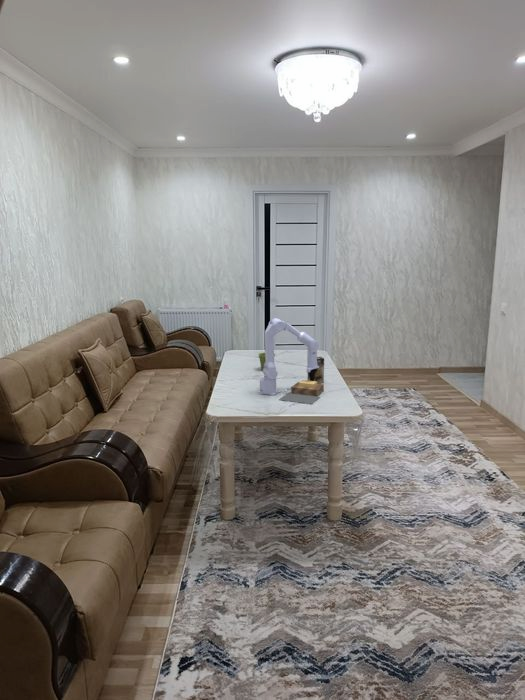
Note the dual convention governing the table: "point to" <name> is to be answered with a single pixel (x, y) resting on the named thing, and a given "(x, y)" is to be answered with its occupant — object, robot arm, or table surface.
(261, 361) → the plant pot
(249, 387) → the table surface
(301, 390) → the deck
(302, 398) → the mat
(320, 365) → the coffee box
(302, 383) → the tile
